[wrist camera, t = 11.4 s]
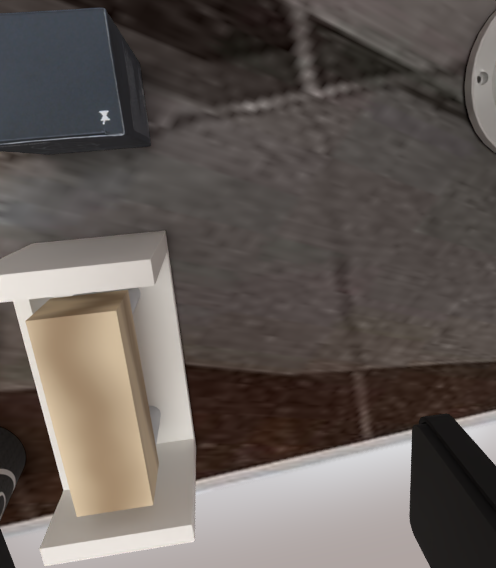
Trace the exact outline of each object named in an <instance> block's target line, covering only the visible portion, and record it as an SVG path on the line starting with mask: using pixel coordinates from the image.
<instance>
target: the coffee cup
mask: <svg viewBox="0 0 496 568" xmlns="http://www.w3.org/2000/svg"><path fill="white" fill-rule="evenodd" d="M25 461H26V454H25V450H24V447H23V445H22V443H21V442H20V441H19V439H18V438H17V437H16V436H15V435H14V434H12V433H11V432H9V431H8V430H6V429H4V428H1V427H0V519H1V517H2V515H3V513H4V510H5V508H6V506H7V504H8V502H9V499H10V497H11V495H12V493H13V490H14V488H15V486H16V484H17V481H18V479H19V477H20V475H21V473H22V470H23V468H24V465H25Z"/></svg>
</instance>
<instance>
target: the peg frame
mask: <svg viewBox="0 0 496 568" xmlns="http://www.w3.org/2000/svg"><path fill="white" fill-rule="evenodd" d="M122 290H128V292H129V298H130V304H131V309H132V315H133V321H134V326H135V332H136V337H137V343H138V349H139V354H140V360H141V365H142V371H143V377H144V382H145V388H146V393H147V399H148V405H149V410H150V416H151V421H152V427H153V433H154V438H155V444H156V449H157V455H158V461H159V467H158V474H157V481H156V488H155V496H154V503H153V505H151V506H145V507H139V508H132V509H126V510H119V511H113V512H106V513H100V514H94V515H87V516H81V517H77V516H76V512H75V508H74V504H73V501H72V497H71V493H70V489H69V485H68V482H67V478H66V474H65V470H64V466H63V463H62V459H61V455H60V451H59V447H58V444H57V440H56V436H55V432H54V428H53V425H52V421H51V417H50V413H49V409H48V406H47V402H46V398H45V394H44V390H43V387H42V383H41V379H40V375H39V371H38V368H37V364H36V360H35V356H34V352H33V349H32V345H31V341H30V337H29V333H28V329H27V326H26V322H25V321H26V320H27V319H28V318H29V317H30V316H32V315H33V314H34V313H35V312H36V311H37V310H38V309H39V308H40V307H42V306H43V305H44V304H45V303H46V302H47V301H48V300H49V299H50V298H59V297H68V296H77V295H86V294H95V293H104V292H113V291H122ZM10 301H13V303H14V306H15V310H16V314H17V318H18V321H19V325H20V329H21V332H22V336H23V340H24V344H25V347H26V351H27V355H28V359H29V362H30V366H31V370H32V374H33V377H34V381H35V385H36V389H37V392H38V396H39V400H40V404H41V407H42V411H43V415H44V419H45V422H46V426H47V430H48V434H49V437H50V441H51V445H52V448H53V452H54V456H55V460H56V463H57V467H58V471H59V475H60V478H61V482H62V486H63V490H64V491H63V493H62V496H61V498H60V501H59V503H58V505H57V508H56V510H55V513H54V515H53V517H52V520H51V522H50V525H49V527H48V529H47V532H46V535H45V537H44V539H43V542H42V544H41V546H40V549H39V550H40V553H41V556H42V559H43V563H44V566H49V565H55V564H61V563H67V562H73V561H79V560H85V559H91V558H97V557H104V556H109V555H116V554H121V553H128V552H134V551H140V550H146V549H152V548H158V547H165V546H171V545H177V544H183V543H189V542H194V541H195V486H196V441H195V434H194V427H193V420H192V413H191V406H190V399H189V392H188V385H187V378H186V371H185V364H184V357H183V350H182V343H181V336H180V329H179V322H178V315H177V308H176V300H175V293H174V286H173V279H172V272H171V265H170V258H169V251H168V244H167V237H166V230H163V231H153V232H143V233H133V234H123V235H113V236H102V237H92V238H82V239H72V240H62V241H52V242H42V243H32V244H30V245H28V246H26V247H24V248H22V249H20V250H18V251H15V252H13V253H11V254H9V255H7V256H5V257H3V258H1V259H0V303H1V302H10Z"/></svg>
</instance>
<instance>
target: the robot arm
mask: <svg viewBox="0 0 496 568" xmlns="http://www.w3.org/2000/svg"><path fill="white" fill-rule="evenodd" d="M465 103H466V107H467V111H468V115H469V119H470V121H471V123H472V126H473V128H474V130H475V132H476V133H477V135H478V136H479V137H480V139H481V140H482V142H483V143H484V144H485V145H486V146H488V147H489V148H490V149H491V150H492V151H493V152H495V153H496V11H495V12H494V13H493V14H492V15H491V16H490V17H489V19H488V20H487V22H486V23H485V25H484V26H483V28H482V30H481V31H480V33H479V34H478V37H477V39H476V41H475V43H474V46H473V48H472V50H471V54H470V57H469V61H468V65H467V68H466V77H465ZM411 456H412V457H411V487H410V524H411V528H412V531H413V533H414V536H415V538H416V540H417V542H418V544H419V546H420V548H421V550H422V551H423V554H424V556H425V558H426V559H427V561H428V563H429V565H430V567H431V568H496V466H495V465H494V463H493V462H492V461H491V460H490V459H489V458H488V457H487V455H486V454H485V453H484V452H483V451H482V450H481V449H480V448H479V446H478V445H477V444H476V443H475V442H474V441H473V440H472V439H471V437H470V436H469V435H468V434H467V433H466V432H465V431H464V430H463V428H462V427H461V426H460V425H459V424H458V423H457V422H456V421H455V419H454V418H453V417H452V416H450V415H449V414H440V415H433V416H425V417H421V418H420V420H419V424H418V425H414V426H413V429H412V455H411ZM0 568H15V566H14V563H13V560H12V558H11V555H10V553H9V550H8V547H7V545H6V542H5V540H4V537H3V534H2V532H1V529H0Z"/></svg>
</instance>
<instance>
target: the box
mask: <svg viewBox="0 0 496 568" xmlns="http://www.w3.org/2000/svg"><path fill="white" fill-rule="evenodd" d="M150 145H151V142H150V135H149V127H148V120H147V113H146V106H145V98H144V91H143V84H142V77H141V68H140V63H139V61H138V60H137V58H136V57H135V55H134V53H133V52H132V50H131V49H130V47H129V46H128V44H127V43H126V41H125V39H124V38H123V36H122V35H121V33H120V31H119V30H118V28H117V26H116V25H115V24H114V22H113V20H112V19H111V17H110V16H109V15H108V13H107V11H106V9H105V8H86V9H72V10H55V11H37V12H19V13H1V14H0V151H6V152H22V153H36V154H59V153H73V152H86V151H98V150H111V149H122V148H135V147H146V146H150Z"/></svg>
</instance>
